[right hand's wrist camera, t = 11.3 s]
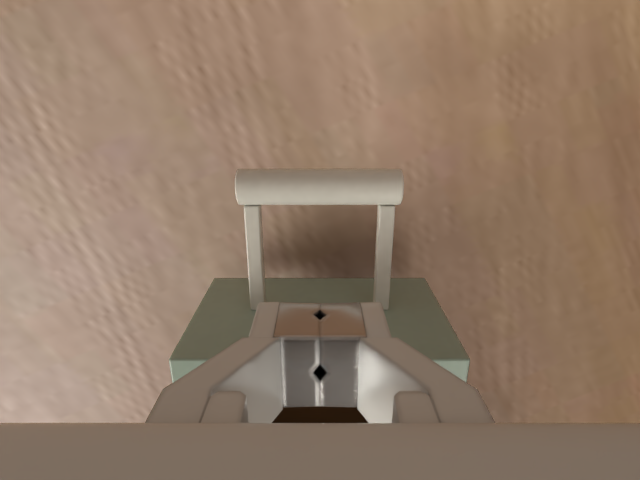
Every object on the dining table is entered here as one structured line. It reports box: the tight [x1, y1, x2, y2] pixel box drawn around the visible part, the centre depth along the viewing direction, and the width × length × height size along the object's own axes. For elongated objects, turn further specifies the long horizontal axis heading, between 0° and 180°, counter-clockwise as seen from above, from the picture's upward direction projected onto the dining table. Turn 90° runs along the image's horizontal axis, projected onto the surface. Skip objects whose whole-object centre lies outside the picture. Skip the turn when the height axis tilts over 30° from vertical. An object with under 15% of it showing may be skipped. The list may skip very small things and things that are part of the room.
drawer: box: [169, 169, 470, 423], centre depth 19 cm, size 25×10×6 cm, turn 0°
